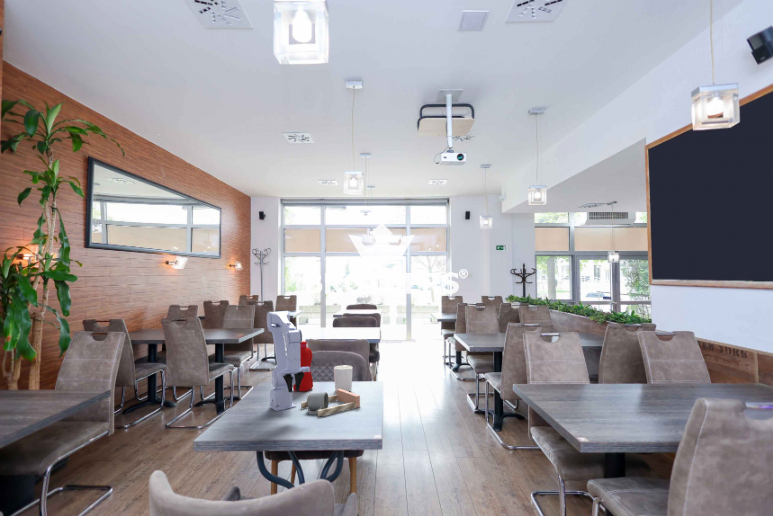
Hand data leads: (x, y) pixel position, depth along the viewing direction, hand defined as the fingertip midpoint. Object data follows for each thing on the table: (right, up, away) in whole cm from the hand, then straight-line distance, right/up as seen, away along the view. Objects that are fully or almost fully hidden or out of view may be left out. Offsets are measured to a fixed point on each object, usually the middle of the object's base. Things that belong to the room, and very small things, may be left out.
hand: (293, 391), depth 179 cm
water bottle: (-5, -13, +43) cm, 45 cm away
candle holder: (+17, -12, +39) cm, 44 cm away
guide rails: (+13, -11, +10) cm, 20 cm away
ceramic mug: (+9, -11, +6) cm, 15 cm away
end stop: (+21, -11, +17) cm, 29 cm away
